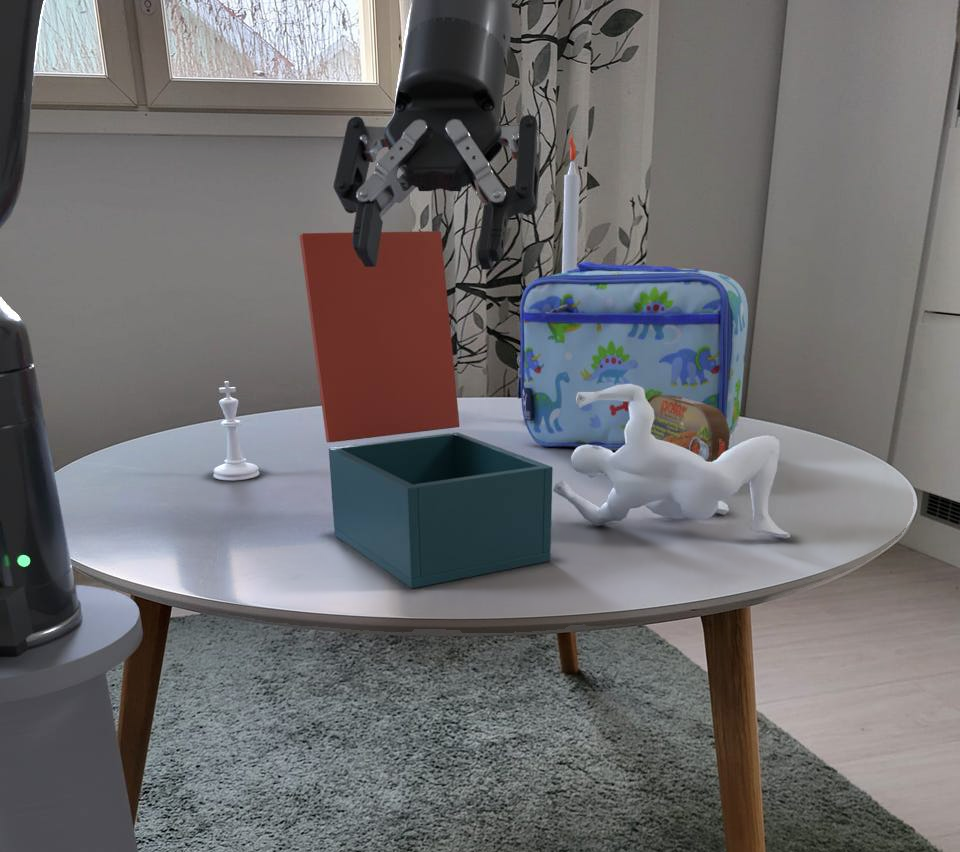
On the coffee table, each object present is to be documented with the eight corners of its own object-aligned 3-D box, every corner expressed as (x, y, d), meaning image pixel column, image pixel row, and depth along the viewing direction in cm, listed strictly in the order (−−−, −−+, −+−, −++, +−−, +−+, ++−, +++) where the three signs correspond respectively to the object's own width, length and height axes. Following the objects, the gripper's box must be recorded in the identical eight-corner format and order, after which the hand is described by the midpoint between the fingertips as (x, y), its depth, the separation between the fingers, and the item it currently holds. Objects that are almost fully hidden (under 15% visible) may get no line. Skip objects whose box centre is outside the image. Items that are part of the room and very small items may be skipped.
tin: (632, 464, 109) (636, 388, 106) (657, 461, 110) (662, 386, 107) (702, 497, 96) (710, 411, 93) (730, 494, 97) (738, 409, 94)
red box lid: (441, 231, 83) (437, 232, 84) (302, 232, 77) (298, 234, 78) (460, 427, 87) (456, 427, 88) (329, 442, 82) (326, 442, 82)
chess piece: (261, 478, 104) (251, 384, 100) (213, 482, 103) (202, 386, 99) (258, 468, 108) (249, 377, 104) (213, 471, 107) (202, 379, 103)
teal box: (550, 561, 79) (553, 466, 75) (411, 589, 73) (407, 488, 70) (459, 514, 91) (458, 432, 88) (334, 535, 85) (328, 447, 82)
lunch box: (507, 445, 118) (508, 262, 110) (543, 429, 127) (546, 259, 119) (717, 468, 107) (736, 266, 99) (741, 448, 116) (760, 262, 108)
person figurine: (755, 392, 88) (581, 367, 82) (835, 451, 79) (645, 428, 72) (705, 518, 95) (540, 505, 88) (773, 586, 85) (594, 577, 79)
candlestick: (521, 415, 136) (524, 136, 122) (597, 414, 137) (609, 136, 123) (529, 431, 126) (533, 129, 112) (611, 429, 127) (626, 129, 113)
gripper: (345, 16, 67) (309, 229, 65) (547, 9, 64) (518, 232, 62) (376, 94, 74) (344, 288, 72) (559, 91, 72) (533, 293, 69)
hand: (425, 262), depth 67 cm, fingers open, 8 cm apart
